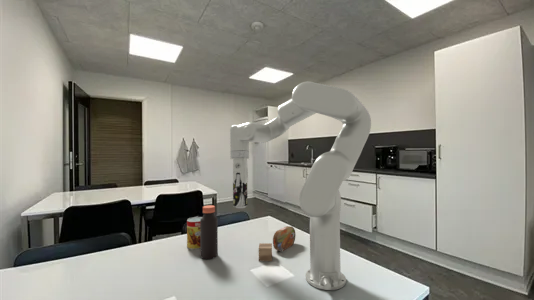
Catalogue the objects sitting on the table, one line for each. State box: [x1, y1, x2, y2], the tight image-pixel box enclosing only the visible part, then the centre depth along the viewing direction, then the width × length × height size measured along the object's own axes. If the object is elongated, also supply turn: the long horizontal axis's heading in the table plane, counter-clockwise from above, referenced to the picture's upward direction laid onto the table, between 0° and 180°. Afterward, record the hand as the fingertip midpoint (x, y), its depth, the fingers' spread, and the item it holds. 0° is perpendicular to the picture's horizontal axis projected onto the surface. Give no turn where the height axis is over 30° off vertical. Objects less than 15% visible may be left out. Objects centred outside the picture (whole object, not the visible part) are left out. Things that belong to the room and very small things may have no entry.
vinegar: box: [199, 204, 219, 260], centre depth 95 cm, size 7×7×20 cm
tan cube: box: [258, 242, 273, 262], centre depth 92 cm, size 5×5×5 cm
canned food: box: [186, 216, 203, 250], centre depth 106 cm, size 8×8×12 cm
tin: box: [272, 226, 296, 252], centre depth 103 cm, size 15×3×8 cm, turn 143°
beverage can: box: [232, 180, 249, 209], centre depth 94 cm, size 6×6×12 cm
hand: (240, 200), depth 94 cm, fingers closed on beverage can, 3 cm apart
